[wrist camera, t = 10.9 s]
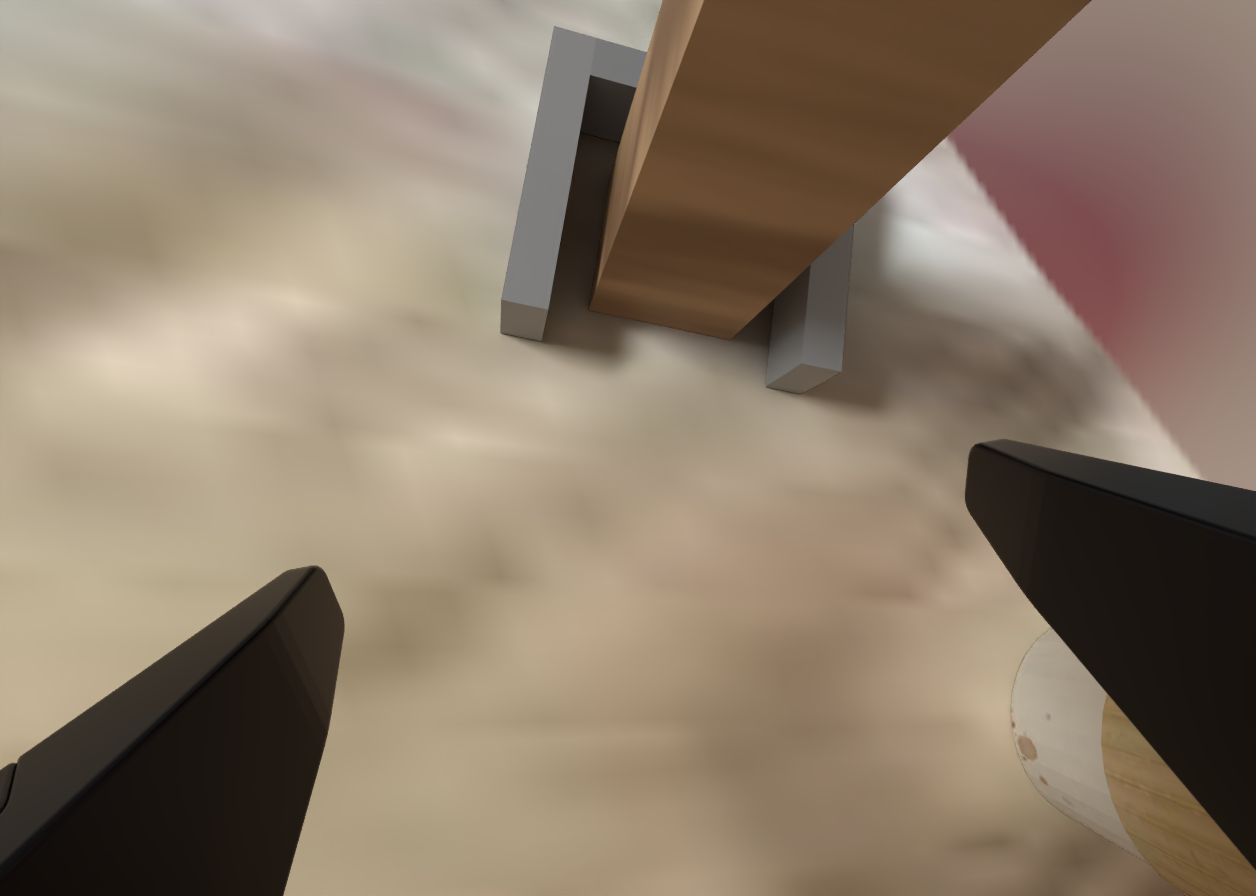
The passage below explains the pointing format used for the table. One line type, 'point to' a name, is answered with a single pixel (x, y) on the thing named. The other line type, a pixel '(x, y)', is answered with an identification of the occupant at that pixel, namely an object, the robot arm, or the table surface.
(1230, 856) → the coffee cup
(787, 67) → the wooden block
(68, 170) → the table surface
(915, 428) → the table surface
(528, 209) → the u-shaped bracket
